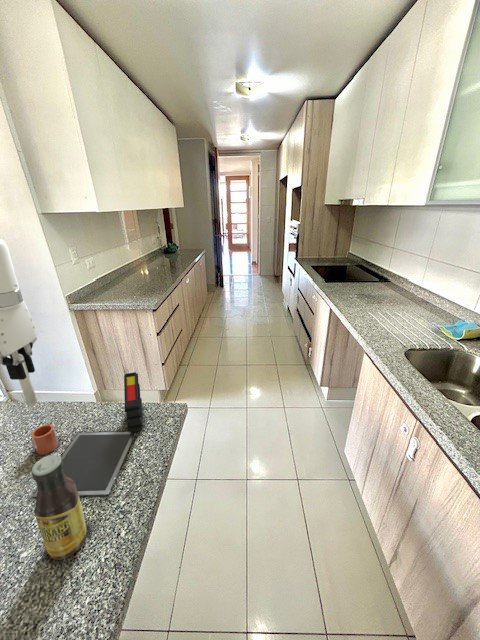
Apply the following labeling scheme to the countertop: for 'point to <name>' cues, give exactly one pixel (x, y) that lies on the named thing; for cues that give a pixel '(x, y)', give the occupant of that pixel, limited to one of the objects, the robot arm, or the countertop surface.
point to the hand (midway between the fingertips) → (23, 374)
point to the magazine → (133, 402)
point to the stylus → (27, 384)
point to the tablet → (95, 460)
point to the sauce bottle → (58, 508)
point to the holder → (44, 439)
